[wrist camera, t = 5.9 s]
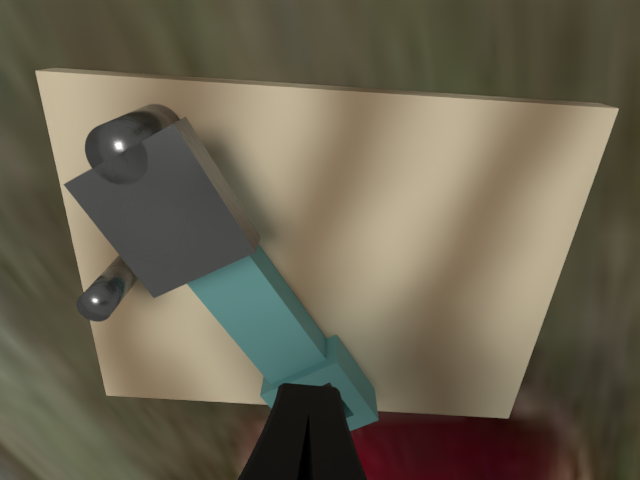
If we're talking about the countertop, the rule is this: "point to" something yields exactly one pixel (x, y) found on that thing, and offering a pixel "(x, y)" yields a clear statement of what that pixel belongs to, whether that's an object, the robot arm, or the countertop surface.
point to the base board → (354, 229)
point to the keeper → (156, 207)
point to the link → (283, 335)
